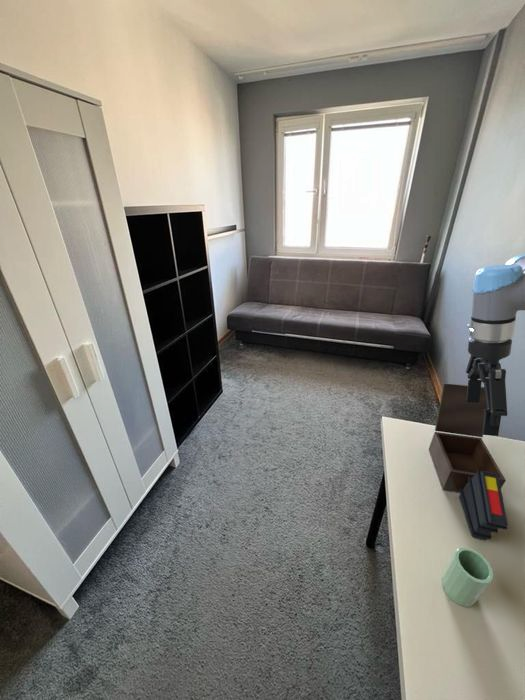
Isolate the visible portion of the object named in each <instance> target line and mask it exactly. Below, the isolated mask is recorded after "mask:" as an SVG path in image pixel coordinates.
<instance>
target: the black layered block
mask: <svg viewBox="0 0 525 700" xmlns="http://www.w3.org/2000/svg"><path fill="white" fill-rule="evenodd" d="M458 499H459V502H460V505H461V508H462V511H463V515H464V516H465V520H466V524H467V526H468V531H469V533H470V536H471V537H472V538H474V539H477V540H478V539H479V540H483V541H487V540H492V533H498V532H499V530H498V529H502V530H508V527H509V523H508V519H507V512H506V509H505V503H504V498H503V493H502V488H501V487H500V482H499V477H498V474H496V473H492V472H487V471H481V470H477V474H476V475H475V476H474V477H470V476H469V477H468V483H467V484H466V485H465V487H464V488H462V487H461V488H460V493H459V496H458Z"/></svg>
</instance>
